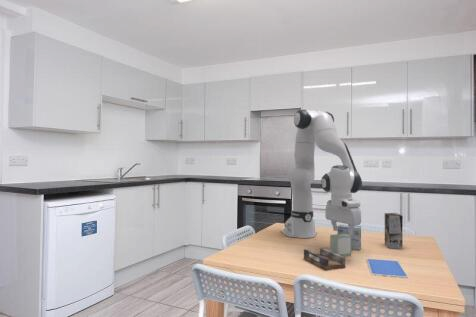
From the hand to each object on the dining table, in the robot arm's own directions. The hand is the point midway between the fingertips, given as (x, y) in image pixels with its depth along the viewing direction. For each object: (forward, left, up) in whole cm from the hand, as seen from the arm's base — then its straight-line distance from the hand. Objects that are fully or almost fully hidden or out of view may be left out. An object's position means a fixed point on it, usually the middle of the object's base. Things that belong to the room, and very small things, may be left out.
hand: (342, 232), depth 145 cm
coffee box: (-5, +34, -11) cm, 36 cm away
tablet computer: (+20, +4, -11) cm, 24 cm away
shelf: (+6, -15, -10) cm, 19 cm away
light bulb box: (-11, +12, -11) cm, 20 cm away
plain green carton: (-1, -1, -10) cm, 10 cm away
